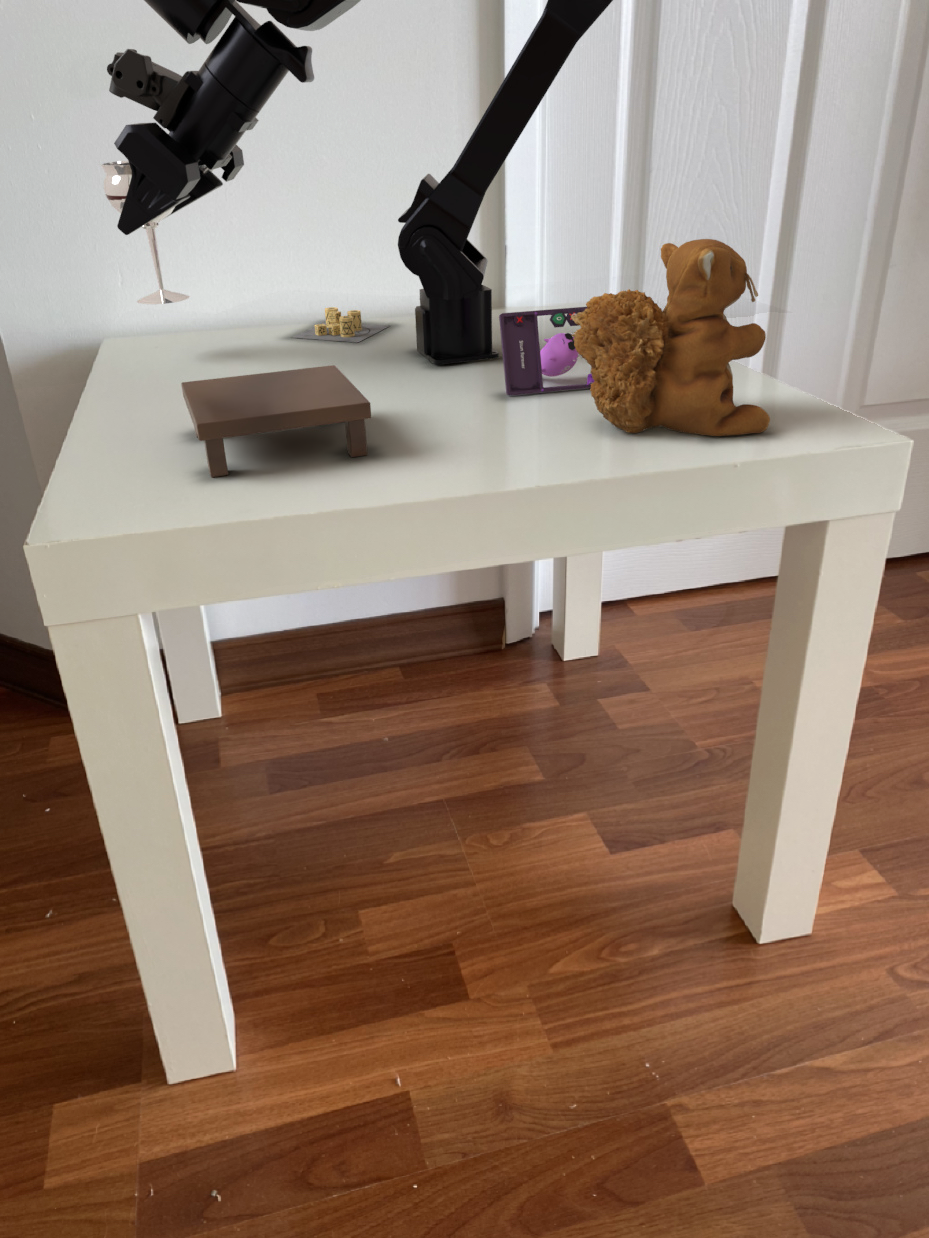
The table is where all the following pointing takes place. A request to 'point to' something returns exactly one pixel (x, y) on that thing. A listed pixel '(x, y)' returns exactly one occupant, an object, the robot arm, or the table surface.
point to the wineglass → (116, 194)
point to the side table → (274, 407)
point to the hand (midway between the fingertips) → (135, 226)
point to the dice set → (341, 327)
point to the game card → (537, 351)
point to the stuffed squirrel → (674, 347)
